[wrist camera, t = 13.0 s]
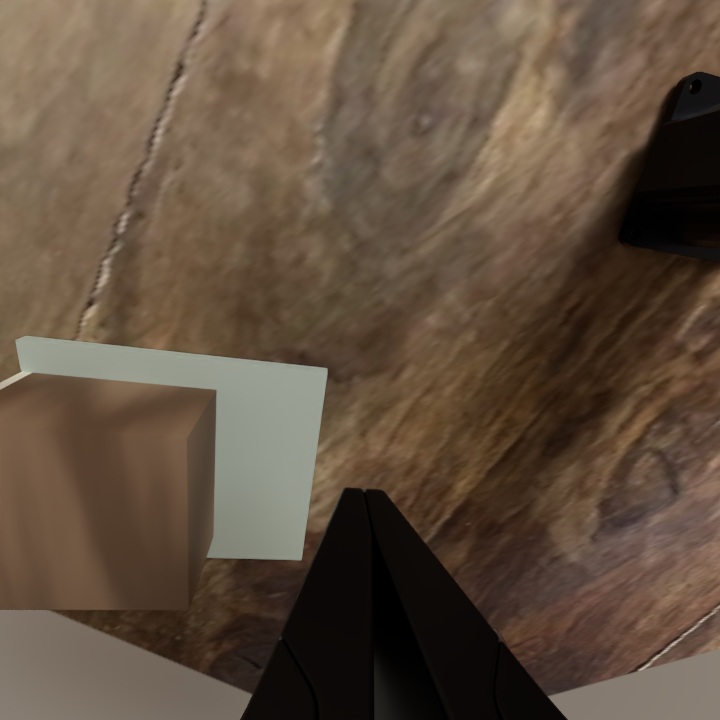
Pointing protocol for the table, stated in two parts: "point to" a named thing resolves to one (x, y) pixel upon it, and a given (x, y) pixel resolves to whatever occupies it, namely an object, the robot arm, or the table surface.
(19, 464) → the walnut slab
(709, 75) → the robot arm
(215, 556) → the sage mat
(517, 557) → the table surface
